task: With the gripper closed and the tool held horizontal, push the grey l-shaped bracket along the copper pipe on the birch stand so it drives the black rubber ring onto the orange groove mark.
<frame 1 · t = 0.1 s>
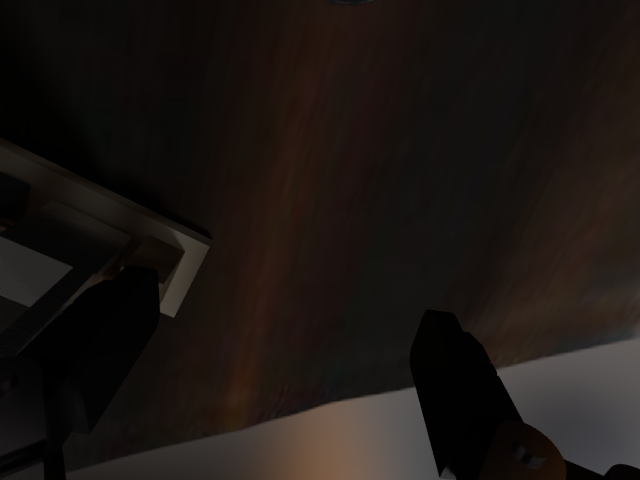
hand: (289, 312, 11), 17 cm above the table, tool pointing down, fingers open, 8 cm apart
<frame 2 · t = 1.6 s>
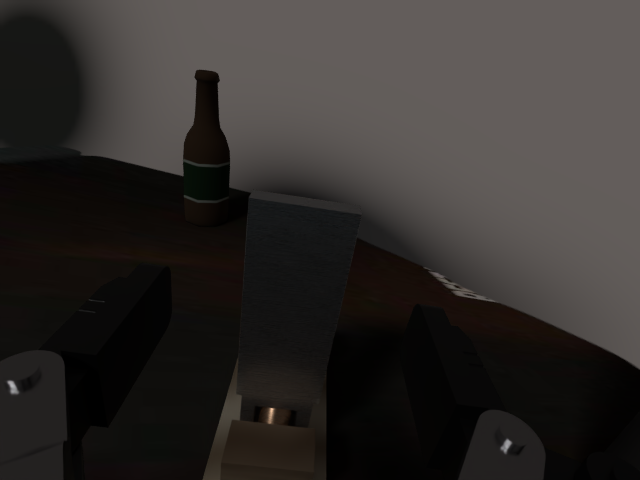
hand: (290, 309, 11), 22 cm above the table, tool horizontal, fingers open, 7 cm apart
beer bottle: (206, 218, 64), on the table
pipe stand: (285, 340, 41), on the table
pipe: (289, 311, 39), point 4 cm above the table
grey l-shaped bracket: (289, 318, 26), point 12 cm above the table, slide at 0.0 cm
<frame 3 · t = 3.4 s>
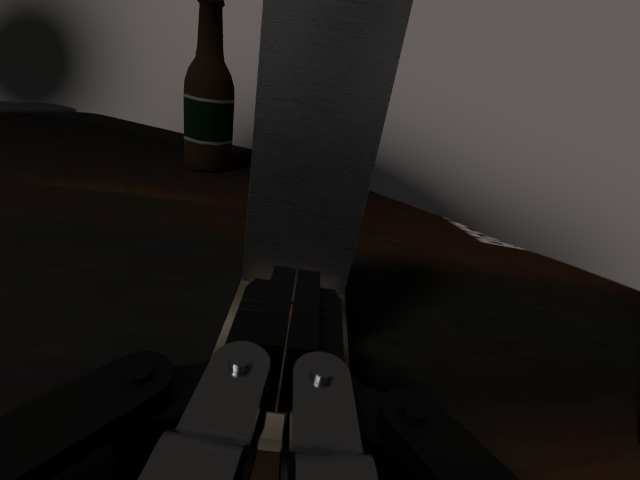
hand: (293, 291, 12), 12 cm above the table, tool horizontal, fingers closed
beer bottle: (207, 166, 60), on the table
pipe stand: (296, 268, 36), on the table
grey l-shaped bracket: (308, 190, 21), point 12 cm above the table, slide at 0.0 cm
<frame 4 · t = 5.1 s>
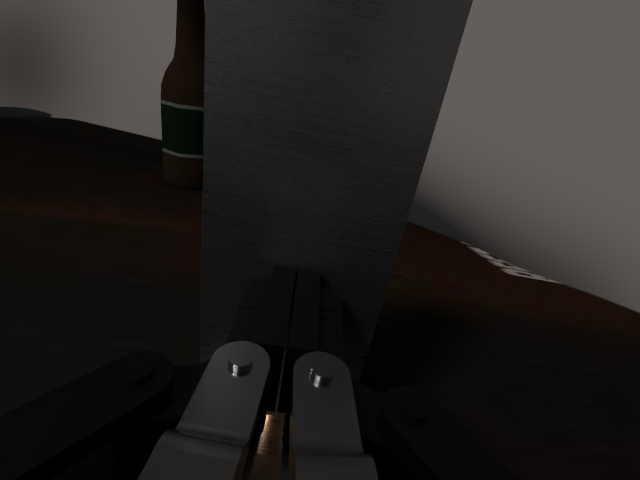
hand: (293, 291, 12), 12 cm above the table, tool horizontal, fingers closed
beer bottle: (191, 182, 52), on the table
pipe stand: (288, 322, 28), on the table
pipe: (295, 278, 27), point 4 cm above the table
grey l-shaped bracket: (299, 252, 15), point 12 cm above the table, slide at 0.4 cm, touching gripper
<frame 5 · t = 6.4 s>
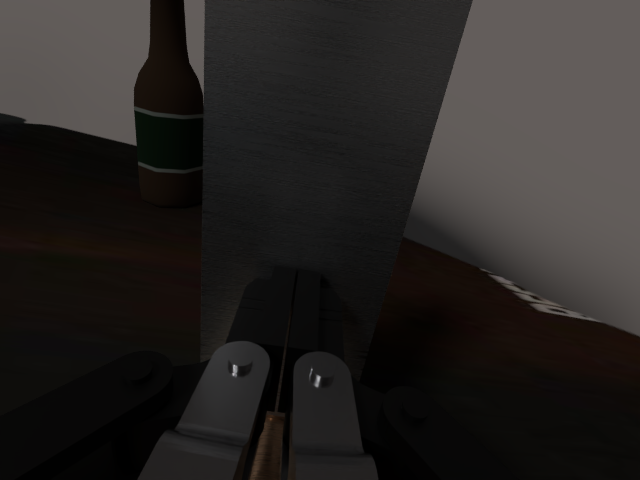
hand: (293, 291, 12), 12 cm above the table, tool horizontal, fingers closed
beer bottle: (173, 198, 46), on the table
pipe: (284, 345, 20), point 4 cm above the table
grey l-shaped bracket: (299, 252, 15), point 12 cm above the table, slide at 7.4 cm, touching gripper, ring
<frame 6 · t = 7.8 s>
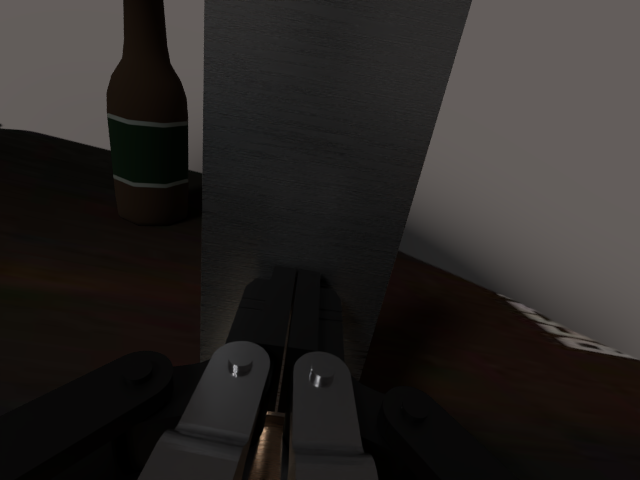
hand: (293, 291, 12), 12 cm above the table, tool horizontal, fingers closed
beer bottle: (155, 214, 42), on the table
pipe: (271, 428, 16), point 4 cm above the table
grey l-shaped bracket: (298, 252, 15), point 12 cm above the table, slide at 12.4 cm, touching gripper, ring
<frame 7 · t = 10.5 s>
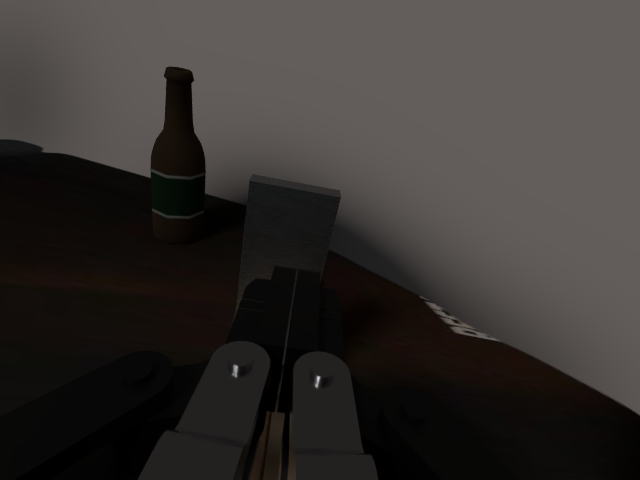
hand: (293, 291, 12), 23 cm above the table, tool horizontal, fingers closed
beer bottle: (178, 233, 57), on the table
pipe stand: (259, 399, 34), on the table
pipe: (264, 369, 32), point 4 cm above the table
grey l-shaped bracket: (278, 286, 31), point 12 cm above the table, slide at 12.5 cm, touching ring
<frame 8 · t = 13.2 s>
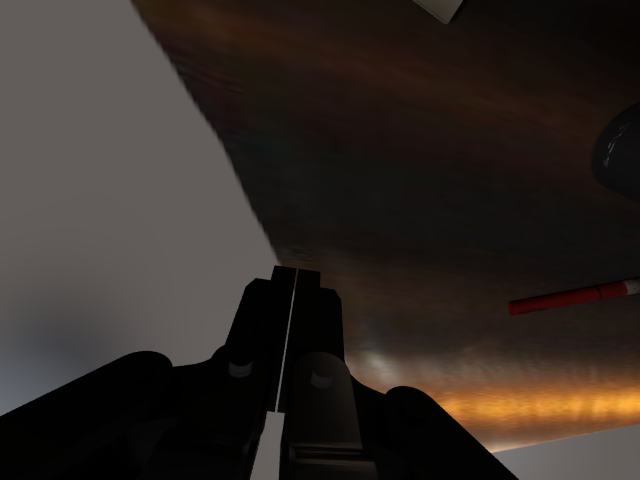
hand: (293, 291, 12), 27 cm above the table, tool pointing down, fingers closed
flare: (569, 291, 44), on the table
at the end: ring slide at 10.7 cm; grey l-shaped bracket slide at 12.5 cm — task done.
